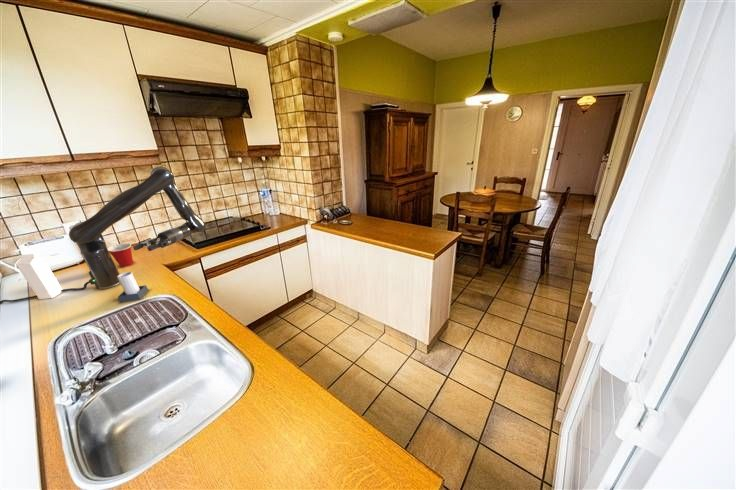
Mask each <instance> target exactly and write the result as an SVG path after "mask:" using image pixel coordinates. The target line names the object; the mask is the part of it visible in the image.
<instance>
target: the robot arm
mask: <svg viewBox="0 0 736 490" xmlns="http://www.w3.org/2000/svg"><path fill="white" fill-rule="evenodd" d="M149 174H150V175H149V176H148V177H147V178H146V179H144V180H143V181H142V182H140V183H139V184H137V185H136V186H132V187H130V188H128V189H126V190H124V191H122V192H120V193H118V194H117V195H115V196H114V197H112V198H111V199H110V200H109V201H108V202H107V203H105V204H104V205H103V206H102V207H101V208H100V209H99V210H98V211H97V212H96V213H94V215H92V216H90V217H89V218H87V219H86V220H84V221H80V222H79V221H78V222H77V223H75V224H73V225H72V227H71V228H70V230H69V232H68V237H69V239H70V241H72V242H73V243H75V244H77V245H78V248H79V250H80V251H79V253H80V255H81V256H82V258H83V261H84V262H85V264H86V266H87V268H88V270H89V271H88V275H89V276H90V279H88V281H87V282H85V283H84V284H83V287H78V288H77V287H72V288H71V287H70V288H64V289H63V288H62V289H63V290H61V292H62V293H65V292H68V291H69V292H70V291H82V290H86V289H87V286H88V285H89V284H90V285H91V286H92V285H94V286H95V287H96V289H98V290H99V289H100V290H106V289H110V288H113V287H116V286H119V285H121V284H120V282H119V280H118V278H117V276H118V275H120V274H121V273H120V272H119V269H118V268H117V266H116V264H115V261H114V258H113V256H112V255H111V253H110V252H109V251H108V249H107V248H108V246H107V243H106V241H105V238H104V236H103V234H104V232H105V231H107V230H108V229H109V228H110V227H112V226H113V225H115V224H116V223H118V222H120V221H121V220H123V219H125V218H126V217H128V216H129V215H131V214H132V213H133V212H134V211H136V210H137V209H139V208H140V207H141V206H142V205H144V204H145V203H147V201H149V200H150V199H151V198H152V197H153V196H155V195H156V194H158V193H160V192H162V191H163V192H164V193H165V195H166V196H167V198H168V199H169V201H170V202H171V204H172V206H173V208H174V209H175V211H176V212H177V213H178V215H179V216H180V218H181V219H182V220H184V221H185V222H184V223H182V224H181V225H178V226H175V227H172V228H169V229H167V230H164V231H161V232H159V233H158V234H157V235H156V237H153V238H151V237H149V238H146V239H142V240H140V241H138V242H137V244H134V245H133V246H132V248H133V250H134V251H138V250H140V249H143V248H146V247H147V251H148V252H151V251H154V250H156V249H160V248H161V249H164V248H166V247H169V246H171V245H174V244H176V243H178V242H180V241H182V240H183V239H186V238H188V237H189V236H191V234H193V233H203V232H205V230H206V223H205V222H204V220H203V219H202V218H201V217H200V216H199V215H198V214H196V212H195V211H194V209H193V208H192V207H191V205H190V203H189V202H188V201H187V199H186V198H185V197H184V195H183V194H182V193H181V191H180V190H179V188H178V187H177V184H176V183H175V176H174V173H173V172H171V170H170V169H168V168H167V167H164V166H159V165H158V166H154V167H153V168H151V170H150V173H149ZM36 298H38V297H37V295H36V294H35V295H31V296H27V297H22V298H16V299H2V300H0V305H2V304H3V303H17V302H22V301H26V300H30V299H36Z"/></svg>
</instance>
